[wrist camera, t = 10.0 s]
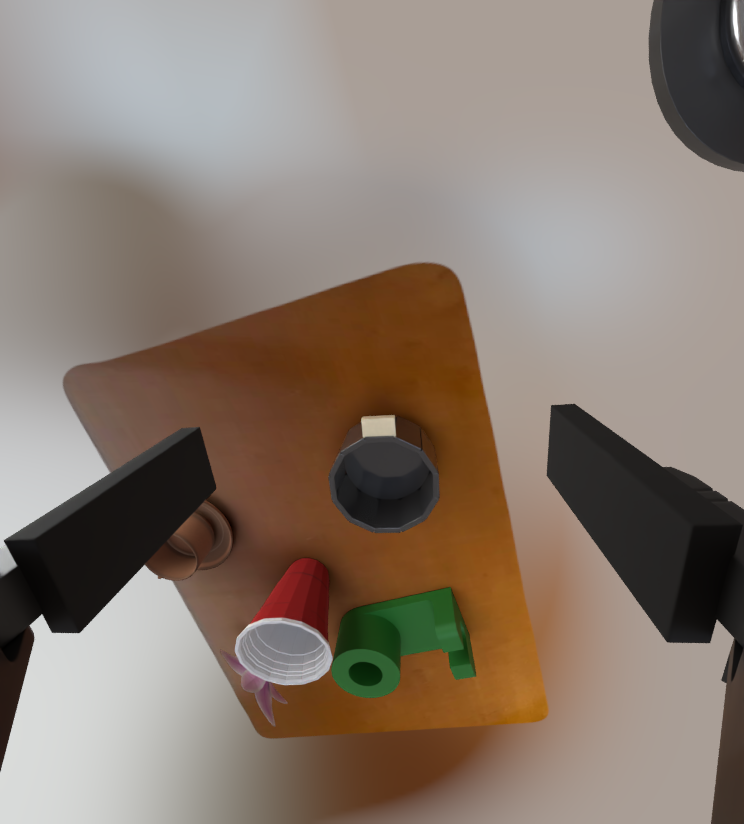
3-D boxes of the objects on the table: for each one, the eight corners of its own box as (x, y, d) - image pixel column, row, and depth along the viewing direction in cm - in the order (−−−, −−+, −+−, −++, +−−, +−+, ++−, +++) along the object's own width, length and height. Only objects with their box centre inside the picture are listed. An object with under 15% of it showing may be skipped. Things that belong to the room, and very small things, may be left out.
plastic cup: (310, 615, 53) (283, 704, 42) (257, 568, 51) (214, 648, 40) (364, 581, 50) (351, 668, 39) (310, 529, 48) (280, 605, 37)
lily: (237, 603, 55) (191, 673, 49) (295, 630, 49) (252, 713, 43) (271, 636, 62) (235, 700, 56) (326, 662, 56) (293, 738, 50)
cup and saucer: (234, 569, 51) (212, 605, 46) (153, 548, 52) (121, 581, 46) (242, 500, 47) (219, 530, 41) (155, 477, 47) (119, 504, 42)
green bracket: (353, 656, 55) (347, 702, 49) (330, 613, 52) (320, 655, 46) (469, 634, 51) (477, 681, 45) (450, 587, 49) (456, 629, 43)
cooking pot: (436, 499, 43) (440, 532, 37) (345, 501, 44) (336, 533, 38) (432, 397, 39) (437, 416, 33) (332, 402, 40) (320, 422, 34)
